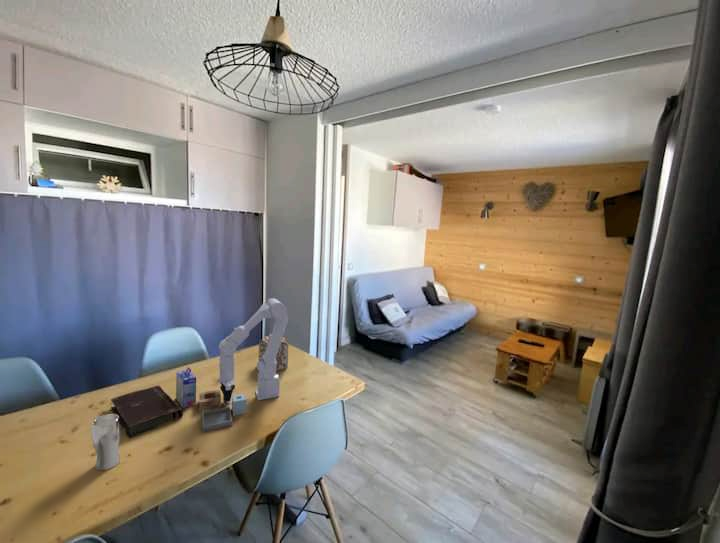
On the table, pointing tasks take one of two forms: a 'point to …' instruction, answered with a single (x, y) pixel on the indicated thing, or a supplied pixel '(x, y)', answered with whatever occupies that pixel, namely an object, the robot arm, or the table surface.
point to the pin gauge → (225, 402)
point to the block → (238, 404)
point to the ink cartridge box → (186, 388)
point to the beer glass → (106, 441)
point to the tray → (216, 419)
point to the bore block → (209, 400)
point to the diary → (145, 410)
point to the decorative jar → (281, 355)
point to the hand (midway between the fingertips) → (226, 397)
